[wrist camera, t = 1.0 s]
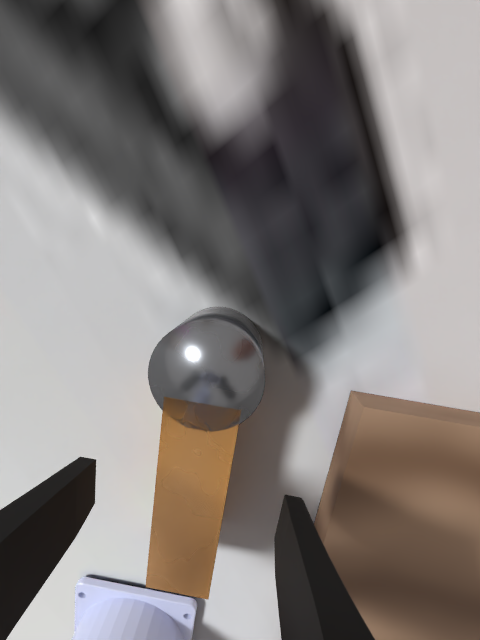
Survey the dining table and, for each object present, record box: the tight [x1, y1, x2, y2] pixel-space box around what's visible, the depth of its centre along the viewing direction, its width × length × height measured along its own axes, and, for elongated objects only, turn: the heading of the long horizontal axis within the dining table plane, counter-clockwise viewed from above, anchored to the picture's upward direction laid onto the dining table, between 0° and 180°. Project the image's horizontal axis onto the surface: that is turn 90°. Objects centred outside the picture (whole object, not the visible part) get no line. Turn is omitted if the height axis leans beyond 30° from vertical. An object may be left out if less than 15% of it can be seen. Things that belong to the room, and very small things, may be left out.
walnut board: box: [314, 391, 480, 640], centre depth 12 cm, size 22×16×4 cm
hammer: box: [146, 307, 265, 599], centre depth 12 cm, size 13×4×4 cm, turn 171°
